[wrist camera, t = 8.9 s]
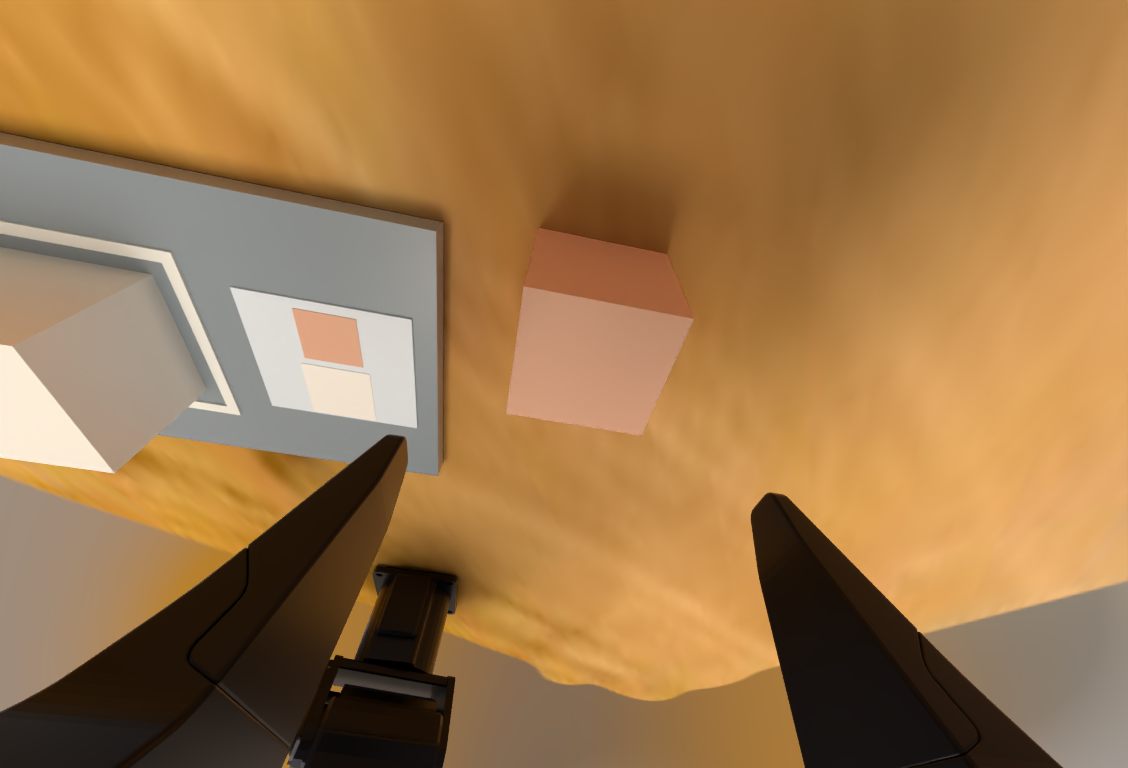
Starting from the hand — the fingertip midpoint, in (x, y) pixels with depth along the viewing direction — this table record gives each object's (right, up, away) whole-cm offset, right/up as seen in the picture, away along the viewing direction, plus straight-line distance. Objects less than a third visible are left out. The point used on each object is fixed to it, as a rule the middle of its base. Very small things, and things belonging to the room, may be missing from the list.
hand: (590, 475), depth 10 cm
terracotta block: (0, +6, +7) cm, 9 cm away
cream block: (-20, +5, +7) cm, 22 cm away
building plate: (-16, +5, +9) cm, 19 cm away
